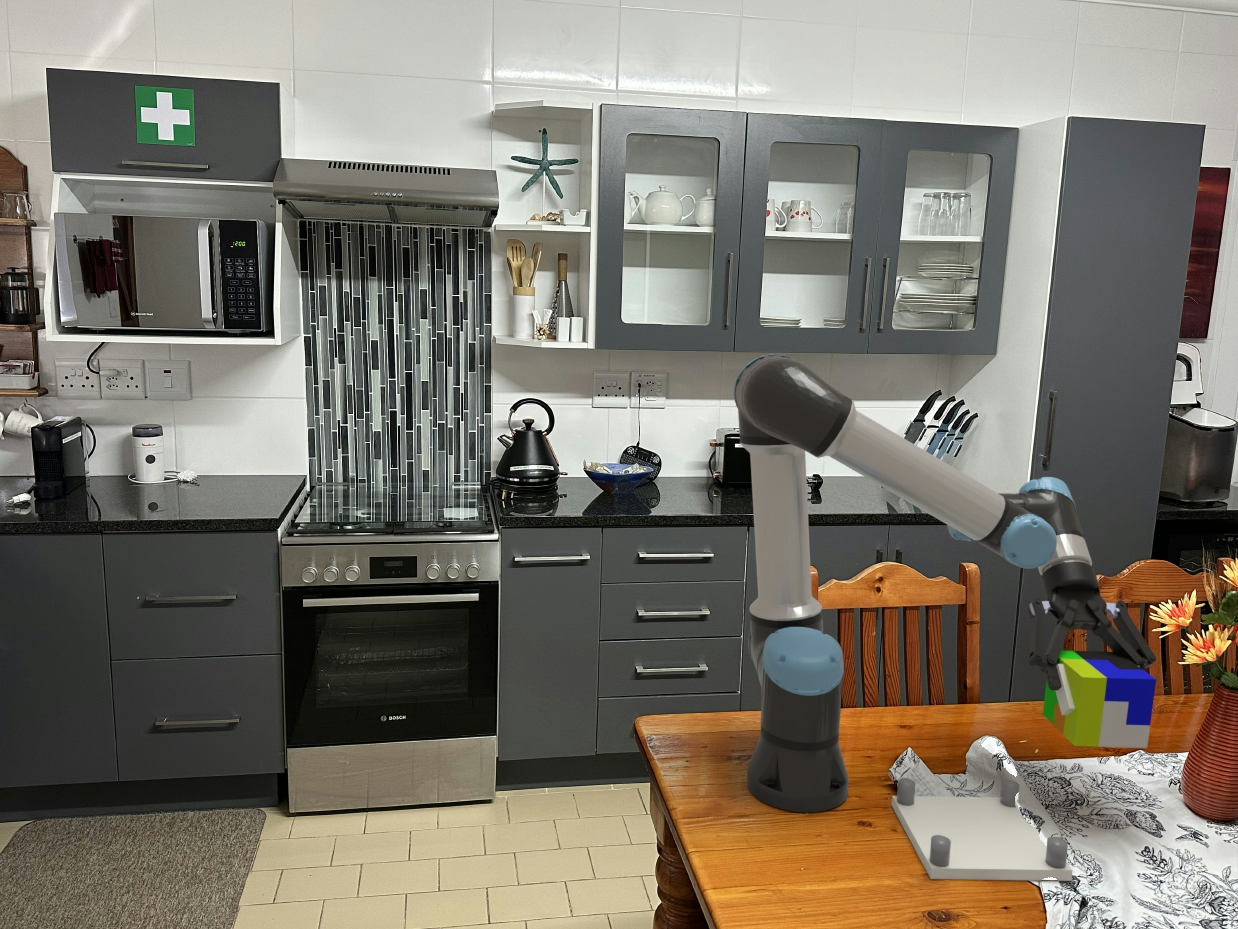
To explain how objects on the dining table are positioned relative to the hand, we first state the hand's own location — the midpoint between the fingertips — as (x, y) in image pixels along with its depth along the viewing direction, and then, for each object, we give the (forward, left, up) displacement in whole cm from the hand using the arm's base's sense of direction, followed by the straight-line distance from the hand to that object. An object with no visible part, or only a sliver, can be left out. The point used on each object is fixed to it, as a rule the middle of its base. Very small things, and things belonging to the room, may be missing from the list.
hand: (1107, 712), depth 131 cm
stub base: (-18, -4, -17) cm, 26 cm away
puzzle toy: (0, +3, -4) cm, 5 cm away
